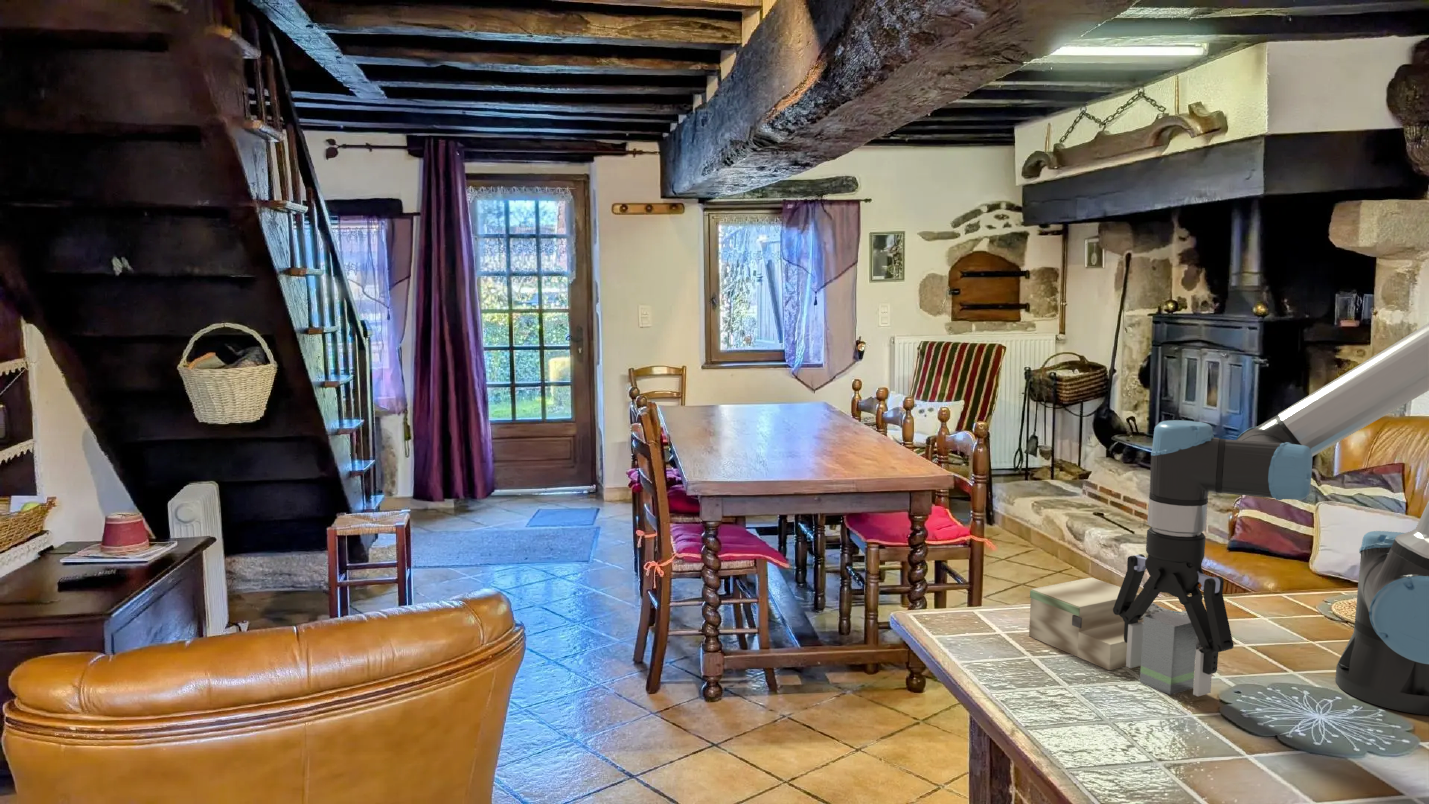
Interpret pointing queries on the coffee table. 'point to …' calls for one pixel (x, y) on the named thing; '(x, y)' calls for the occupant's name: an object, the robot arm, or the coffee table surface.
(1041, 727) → the coffee table surface
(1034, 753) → the coffee table surface
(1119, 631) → the stand
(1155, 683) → the column
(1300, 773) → the coffee table surface
